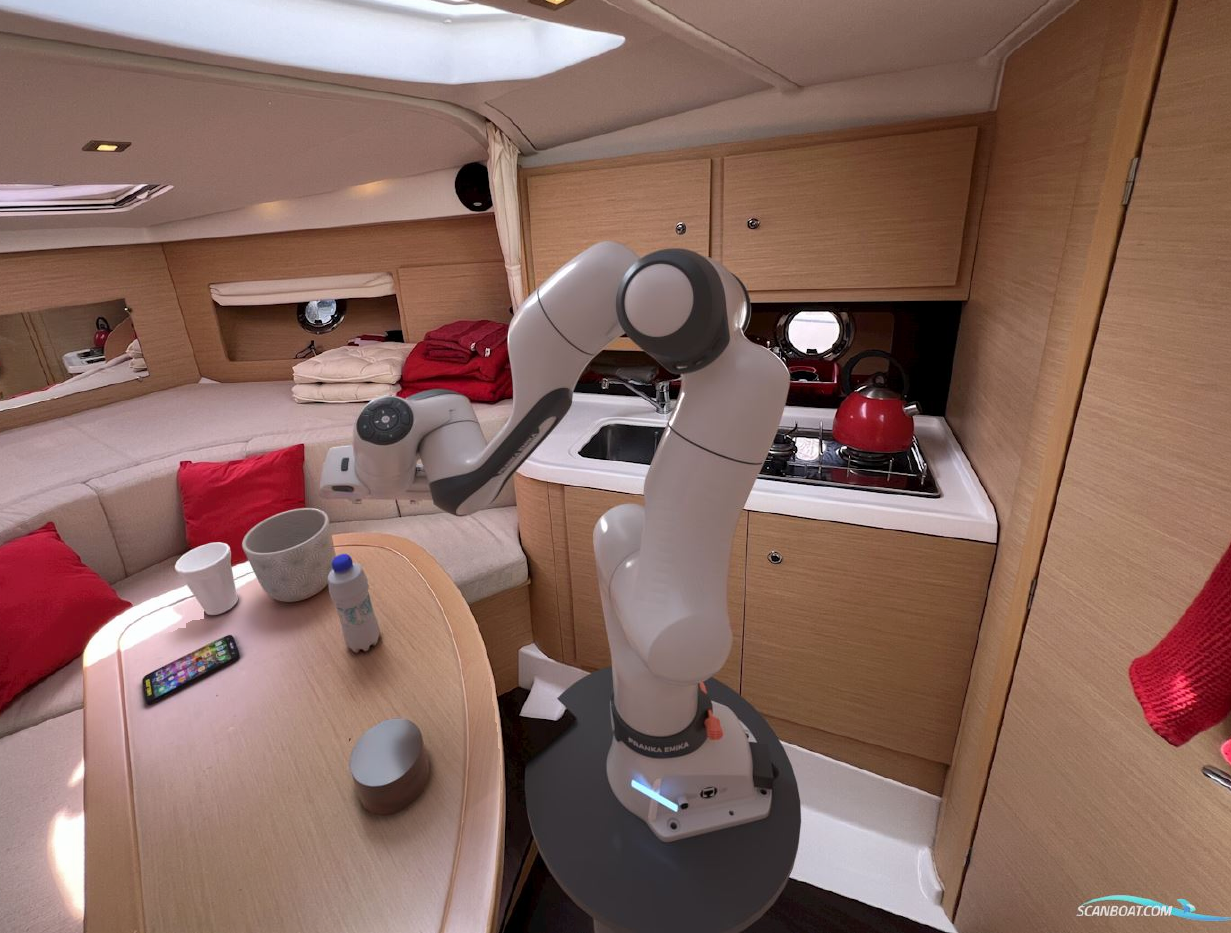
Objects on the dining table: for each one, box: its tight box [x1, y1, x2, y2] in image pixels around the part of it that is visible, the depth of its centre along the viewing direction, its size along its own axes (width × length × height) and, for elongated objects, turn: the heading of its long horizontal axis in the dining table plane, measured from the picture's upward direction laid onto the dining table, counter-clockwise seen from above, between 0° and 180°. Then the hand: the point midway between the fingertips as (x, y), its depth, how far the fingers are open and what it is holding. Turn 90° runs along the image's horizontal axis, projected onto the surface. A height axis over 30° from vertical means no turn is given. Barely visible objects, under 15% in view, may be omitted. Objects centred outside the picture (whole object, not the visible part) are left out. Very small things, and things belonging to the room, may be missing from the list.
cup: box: [174, 541, 239, 616], centre depth 114 cm, size 10×10×13 cm
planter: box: [241, 507, 337, 603], centre depth 117 cm, size 17×17×15 cm
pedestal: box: [349, 717, 430, 816], centre depth 77 cm, size 10×10×6 cm
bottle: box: [327, 553, 381, 653], centre depth 100 cm, size 7×7×20 cm
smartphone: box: [141, 634, 241, 705], centre depth 100 cm, size 8×1×15 cm
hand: (386, 500), depth 94 cm, fingers open, 8 cm apart
